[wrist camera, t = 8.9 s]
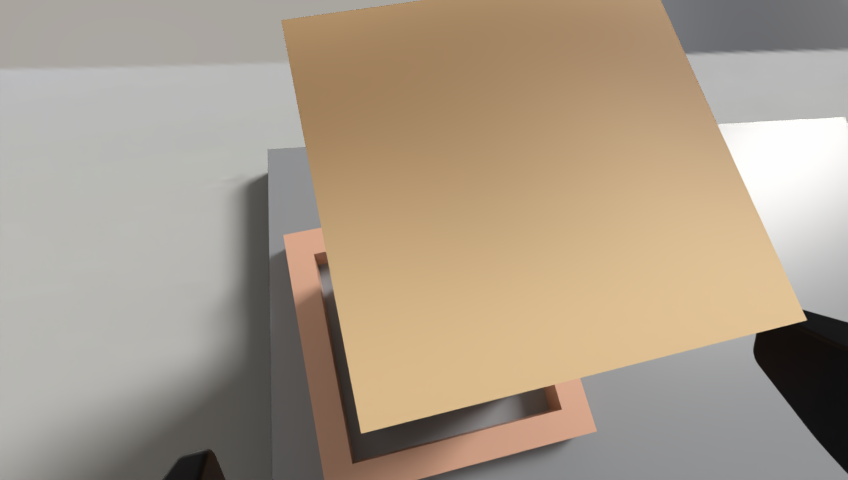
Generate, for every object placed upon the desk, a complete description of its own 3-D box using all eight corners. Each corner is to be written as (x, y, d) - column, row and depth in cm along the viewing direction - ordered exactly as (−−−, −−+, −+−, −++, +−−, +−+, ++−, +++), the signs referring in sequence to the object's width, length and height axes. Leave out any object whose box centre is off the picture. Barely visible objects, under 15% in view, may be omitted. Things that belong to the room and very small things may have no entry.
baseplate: (285, 681, 15) (274, 708, 14) (275, 168, 20) (267, 149, 19) (978, 574, 17) (1031, 588, 16) (815, 136, 22) (844, 117, 21)
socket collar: (582, 430, 16) (597, 431, 15) (332, 497, 15) (328, 503, 14) (511, 202, 19) (519, 188, 18) (289, 247, 18) (283, 234, 16)
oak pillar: (518, 388, 17) (806, 320, 5) (376, 424, 16) (361, 434, 5) (480, 253, 18) (646, -32, 7) (348, 281, 17) (281, 20, 6)
